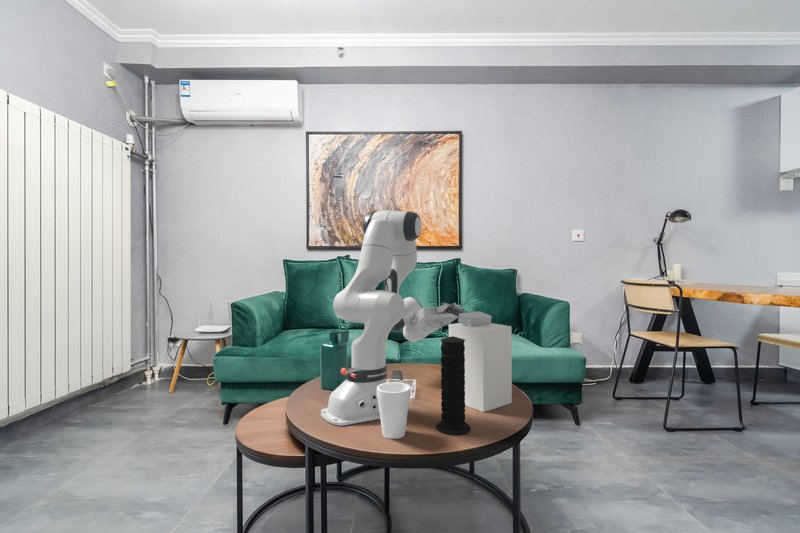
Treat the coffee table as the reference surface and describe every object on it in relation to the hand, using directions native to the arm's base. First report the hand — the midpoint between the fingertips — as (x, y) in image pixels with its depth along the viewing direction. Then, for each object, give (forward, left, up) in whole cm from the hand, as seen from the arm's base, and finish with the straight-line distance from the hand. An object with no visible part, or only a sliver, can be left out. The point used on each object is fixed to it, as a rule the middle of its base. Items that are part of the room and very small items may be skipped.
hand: (451, 304), depth 147 cm
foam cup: (-39, -18, -32) cm, 54 cm away
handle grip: (-23, -25, -32) cm, 47 cm away
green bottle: (-33, +30, -32) cm, 55 cm away
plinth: (0, -14, -32) cm, 35 cm away
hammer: (0, -5, -4) cm, 6 cm away
